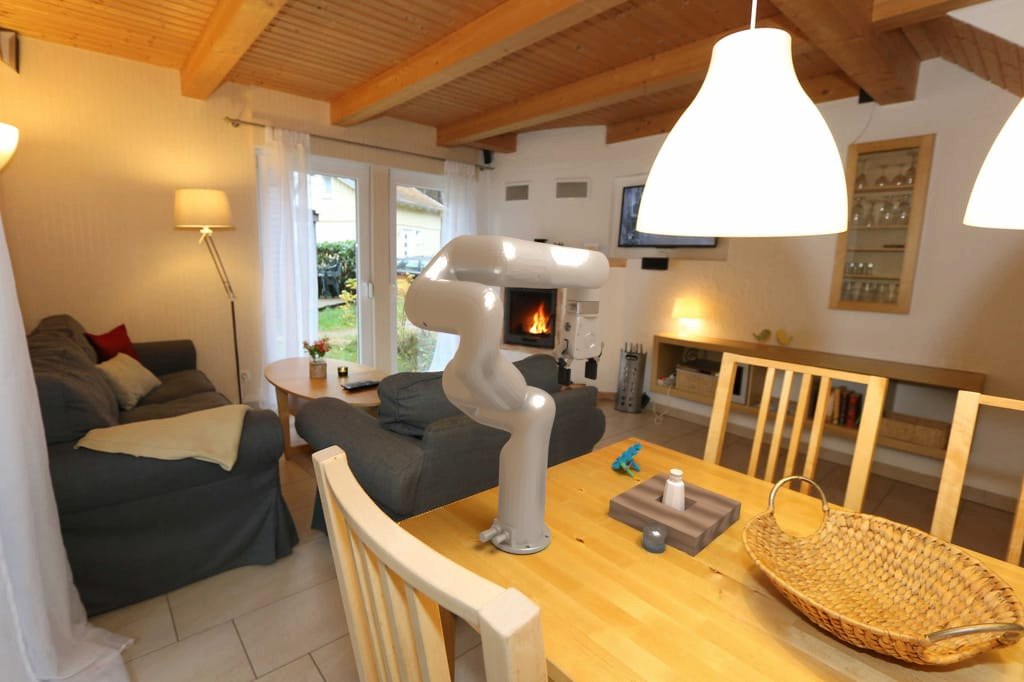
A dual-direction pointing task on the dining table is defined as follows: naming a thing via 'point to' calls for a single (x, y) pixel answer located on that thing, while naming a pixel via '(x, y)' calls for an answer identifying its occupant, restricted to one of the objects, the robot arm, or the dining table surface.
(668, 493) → the salt shaker
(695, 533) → the socket plate
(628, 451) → the blue bumpy figure
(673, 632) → the dining table surface
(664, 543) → the short stub
